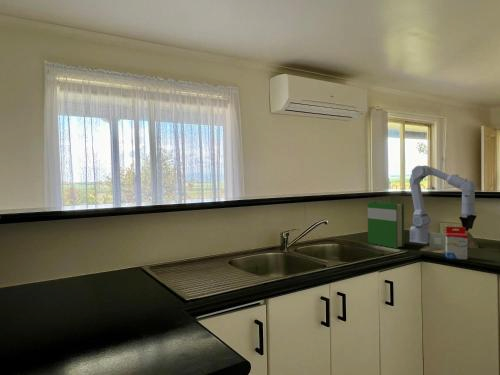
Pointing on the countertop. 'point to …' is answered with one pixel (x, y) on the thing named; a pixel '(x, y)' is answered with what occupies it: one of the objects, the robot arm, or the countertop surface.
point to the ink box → (456, 243)
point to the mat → (433, 250)
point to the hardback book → (386, 224)
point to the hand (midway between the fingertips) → (467, 229)
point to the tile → (437, 240)
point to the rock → (471, 241)
